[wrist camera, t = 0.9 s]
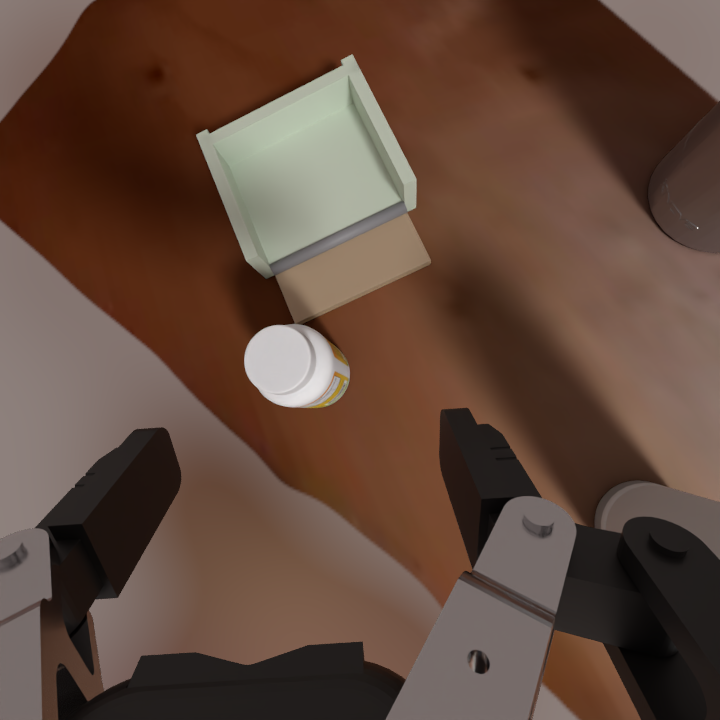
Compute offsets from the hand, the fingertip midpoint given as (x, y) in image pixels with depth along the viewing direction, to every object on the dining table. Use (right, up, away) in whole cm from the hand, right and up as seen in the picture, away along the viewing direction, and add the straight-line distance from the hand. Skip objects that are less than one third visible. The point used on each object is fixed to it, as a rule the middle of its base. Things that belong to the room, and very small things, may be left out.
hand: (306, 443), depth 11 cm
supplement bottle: (-2, +1, +20) cm, 20 cm away
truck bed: (-1, +15, +22) cm, 27 cm away
